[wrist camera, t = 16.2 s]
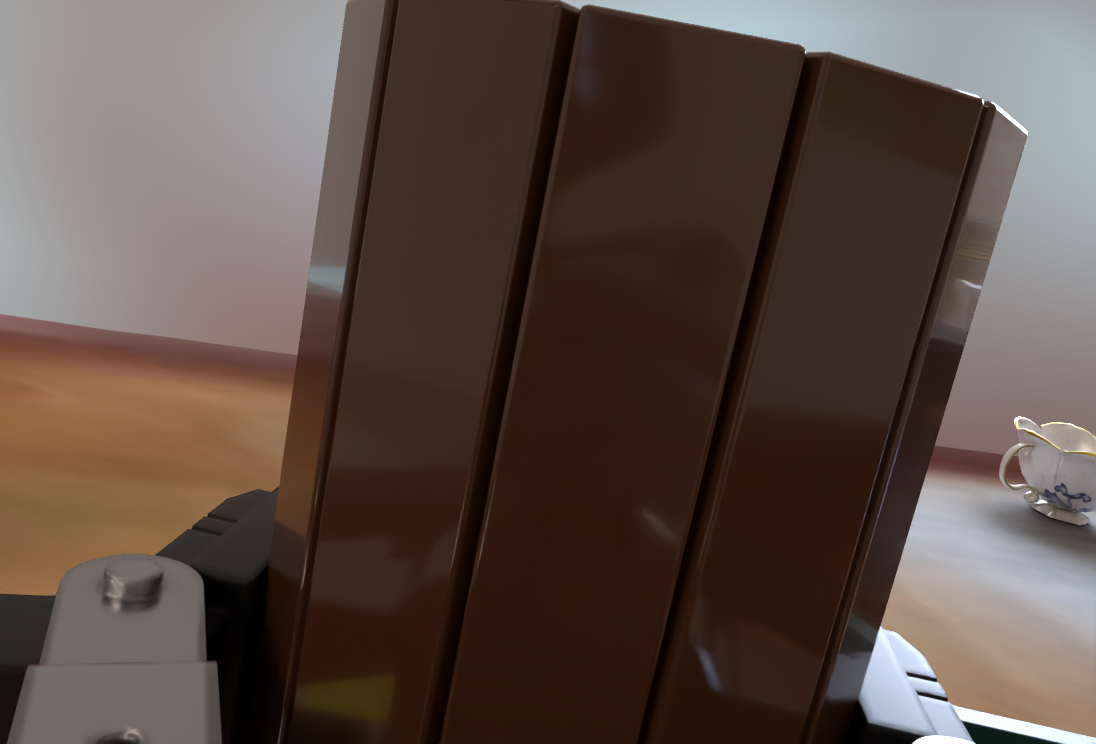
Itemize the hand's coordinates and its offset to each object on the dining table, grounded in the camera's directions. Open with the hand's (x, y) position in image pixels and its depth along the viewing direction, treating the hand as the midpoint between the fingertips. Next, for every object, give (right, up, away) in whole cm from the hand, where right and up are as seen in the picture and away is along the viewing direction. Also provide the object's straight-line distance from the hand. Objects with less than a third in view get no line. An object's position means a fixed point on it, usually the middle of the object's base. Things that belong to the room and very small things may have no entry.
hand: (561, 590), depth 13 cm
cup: (-2, -9, 0) cm, 10 cm away
